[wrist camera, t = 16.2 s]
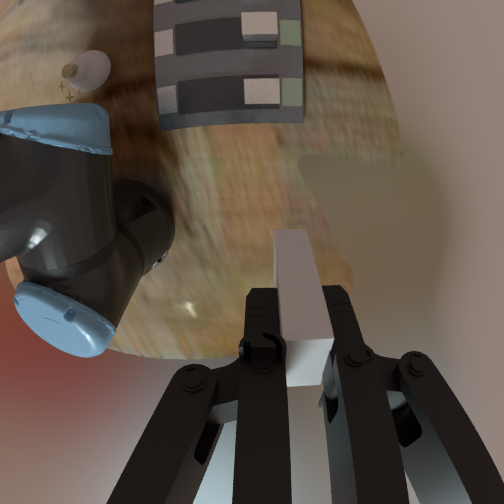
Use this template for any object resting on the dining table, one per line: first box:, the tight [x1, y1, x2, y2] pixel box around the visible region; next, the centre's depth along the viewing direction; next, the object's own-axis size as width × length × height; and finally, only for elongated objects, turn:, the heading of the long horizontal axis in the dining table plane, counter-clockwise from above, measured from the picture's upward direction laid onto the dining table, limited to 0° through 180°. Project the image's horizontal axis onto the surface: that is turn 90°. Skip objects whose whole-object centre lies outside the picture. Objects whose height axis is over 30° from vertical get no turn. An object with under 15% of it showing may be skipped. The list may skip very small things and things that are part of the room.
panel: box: [153, 0, 304, 131], centre depth 23 cm, size 18×24×6 cm
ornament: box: [59, 50, 111, 104], centre depth 23 cm, size 6×7×10 cm
